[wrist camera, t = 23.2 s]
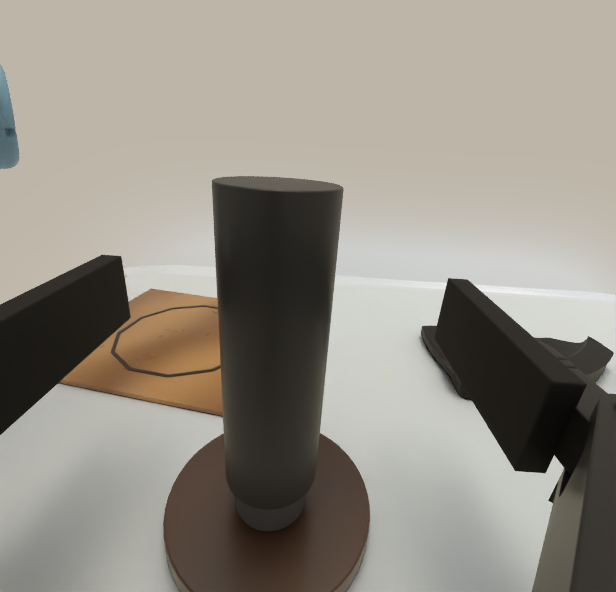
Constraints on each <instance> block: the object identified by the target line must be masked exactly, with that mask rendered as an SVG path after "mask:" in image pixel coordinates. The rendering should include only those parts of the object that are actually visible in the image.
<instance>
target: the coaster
mask: <svg viewBox="0 0 616 592" xmlns="http://www.w3.org/2000/svg"><path fill="white" fill-rule="evenodd" d="M369 522H370V507H369V500H368V494H367V491H366V488H365V484H364V482H363V479H362V477H361V475H360V473H359V471H358V469H357V468H356V466H355V464H354V463H353V461H352V460H351V459H350V457H349V456H348V455H347V454H346V453H345V452H344V451H343V450H342V449H341V448H340V447H339V446H338V445H337V444H336V443H334V442H333V441H332V440H330V439H329V438H327V437H326V436H324V435H322V434H319V444H318V455H317V465H316V474H315V479H314V482H313V484H312V486H311V488H310V489H309V491H308V492H307V493H306V500H305V505H304V508H303V510H302V512H301V514H300V515H299V517H298V518H297V519H296V520H295V521H294V522H293V523H292V524H290V525H289V526H287V527H285V528H283V529H280V530H277V531H260V530H257V529H254V528H252V527H250V526H249V525H247V524H246V523H245V522H244V521H243V520H242V519H241V517H240V516H239V514H238V512H237V510H236V506H235V495H234V494H233V493H232V492H231V490H230V488H229V486H228V484H227V480H226V467H225V446H224V434H222V435H221V436H219V437H217V438H215V439H214V440H212V441H211V442H209V443H208V444H207V445H205V446H204V447H203V448H202V449H200V450H199V451H198V452H197V453H196V454H195V455H194V456H193V457H192V458H191V459H190V460H189V461H188V463H187V464H186V465H185V467H184V468H183V469H182V471H181V472H180V474H179V475H178V477H177V479H176V481H175V483H174V484H173V487H172V489H171V492H170V494H169V497H168V500H167V504H166V508H165V514H164V523H163V525H164V541H165V548H166V553H167V559H168V565H169V568H170V571H171V574H172V577H173V580H174V582H175V584H176V586H177V588H178V589H179V591H180V592H346V590H347V589H348V588H349V586H350V584H351V583H352V581H353V579H354V578H355V576H356V574H357V572H358V569H359V567H360V564H361V562H362V559H363V555H364V551H365V547H366V542H367V537H368V531H369Z"/></svg>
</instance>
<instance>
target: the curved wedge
mask: <svg viewBox="0 0 616 592" xmlns="http://www.w3.org/2000/svg"><path fill="white" fill-rule="evenodd" d="M436 328H437V326H422V330H421V335H422V337H423V339H424V341H425V343H426V345H427V347H428V349H429V351H430V352H431V353H432V355H433V356H434V358H435V359H436V360H437V361H438V363H439V364H440V365H441V366H442V367H443V368H444V370H445V371H446V372H447V374H448V375H449V376H450V378H451V380H452V381H453V383H454V385H455V387H456V390H457V392H458V393H459V395H460V396H461V397H464V398H468V399H471V398H470V396H469V395H468V393H467V391H466V390H465V388H464V386H463V385H462V383H461V381H460V380H459V378H458V377H457V375H456V373H455V372H454V370H453V368H452V367H451V365H450V363H449V362H448V360H447V359H446V357H445V355H444V354H443V352H442V350H441V349H440V347H439V345H438V344H437V342H436V341H435V339H434V336H435V332H436ZM535 339H538V340H540V341H541V342H543V343H545V344H547V345H549V346H551V347H552V348H554V349H555V350H557V351H558V352H559V353H560V354H561V355H562V356H564V357H565V358H566V360H568V361H570V362H571V363H572V364H573V365H574V366H575V367H576V369H579V370H580V371H581V372H583V373H584V374H585V375H586V376H587V377H589V378H590V379H591V380H592V381H593V382H596V381H597V380H598V379H599V378H600V377H601V375H602V374H603V371H604V369H605V367H606V365H607V363H608V362H609V361H610V359H611V358H612V356H613V354H614V353H613V352H612V351H611V350H609V349H608V348H607V347H605V346H604V345H602V344H601V343H599V342H598V341H596V340H594V339H592V338H591V337H588V338H587V339H586V340H585V341H584V342H581V343H573V342H567V341H562V340H557V339H552V338H535Z"/></svg>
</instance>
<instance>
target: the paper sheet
mask: <svg viewBox="0 0 616 592" xmlns="http://www.w3.org/2000/svg"><path fill="white" fill-rule="evenodd" d="M129 309H130V315H131V318H130V319H129V320H128V321H127V322H126V323H124V324H123V325H122V326H121V327H120V328H119V329H118V330H117V331H115V332H114V333H113V334H112V335H111V336H110V337H109V338H108V339H107V340H105V341H104V342H103V343H102V344H101V345H100V346H99V347H98V348H97V349H95V350H94V351H93V352H92V353H91V354H90V355H89V356H88V357H87V358H85V359H84V360H83V361H82V362H81V363H80V364H79V365H78V366H77V367H75V368H74V369H73V370H72V371H71V372H70V373H69V374H68V375H66V376H65V377H64V378H63V379H62V380H61V381H60V382H59V383H63V384H68V385H73V386H78V387H82V388H87V389H92V390H97V391H102V392H107V393H112V394H117V395H122V396H127V397H132V398H137V399H141V400H146V401H151V402H156V403H161V404H166V405H171V406H176V407H181V408H186V409H191V410H196V411H200V412H205V413H210V414H215V415H220V416H223V404H222V383H221V362H220V341H219V320H218V299H217V298H212V297H205V296H198V295H191V294H184V293H177V292H170V291H163V290H156V289H150V290H148V291H147V292H145V293H143V294H141V295H140V296H138V297H136V298H134V299H133V300H131V301H129Z"/></svg>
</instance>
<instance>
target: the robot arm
mask: <svg viewBox="0 0 616 592" xmlns="http://www.w3.org/2000/svg"><path fill="white" fill-rule="evenodd" d="M18 161H19V149H18V141H17V135H16V131H15V122H14V115H13V110H12V104H11V99H10V94H9V89H8V84H7V80H6V76H5V72H4V71H3V68H2V67H1V65H0V169H6V168H12V167H14V166H15V165H16V164H17V163H18ZM130 318H131V315H130V309H129V302H128V296H127V290H126V284H125V277H124V271H123V265H122V259H121V256H109V255H101V256H99V257H97V258H95V259H93V260H91V261H89V262H87V263H85V264H83V265H80V266H78V267H76V268H74V269H72V270H70V271H68V272H66V273H64V274H62V275H60V276H58V277H56V278H54V279H52V280H50V281H48V282H46V283H44V284H42V285H40V286H37V287H35V288H34V289H31V290H29V291H27V292H25V293H23V294H21V295H19V296H17V297H15V298H13V299H11V300H9V301H7V302H5V303H3V304H1V305H0V435H1V434H2V433H3V432H4V431H5V430H6V429H7V428H9V427H10V426H11V425H12V424H13V423H14V422H15V421H16V420H17V419H19V418H20V417H21V416H22V415H23V414H24V413H25V412H26V411H27V410H29V409H30V408H31V407H32V406H33V405H34V404H35V403H36V402H38V401H39V400H40V399H41V398H42V397H43V396H44V395H45V394H46V393H48V392H49V391H50V390H51V389H52V388H53V387H54V386H55V385H56V384H58V383H59V382H60V381H61V380H62V379H63V378H64V377H65V376H66V375H68V374H69V373H70V372H71V371H72V370H73V369H74V368H75V367H77V366H78V365H79V364H80V363H81V362H82V361H83V360H84V359H85V358H87V357H88V356H89V355H90V354H91V353H92V352H93V351H94V350H95V349H97V348H98V347H99V346H100V345H101V344H102V343H103V342H104V341H105V340H107V339H108V338H109V337H110V336H111V335H112V334H113V333H114V332H115V331H117V330H118V329H119V328H120V327H121V326H122V325H123V324H124V323H126V322H127V321H128V320H129V319H130ZM434 339H435V341H436V342H437V344H438V345H439V347H440V349H441V350H442V352H443V354H444V355H445V357H446V359H447V360H448V362H449V363H450V365H451V367H452V368H453V370H454V372H455V373H456V375H457V377H458V378H459V380H460V381H461V383H462V385H463V386H464V388H465V390H466V391H467V393H468V395H469V396H470V398H471V399H472V401H473V403H474V404H475V406H476V408H477V409H478V411H479V412H480V414H481V416H482V417H483V419H484V421H485V422H486V424H487V426H488V427H489V429H490V430H491V432H492V434H493V435H494V437H495V439H496V440H497V442H498V444H499V445H500V447H501V448H502V450H503V452H504V453H505V455H506V457H507V458H508V460H509V461H510V463H511V465H512V466H513V468H514V470H515V471H523V472H538V473H546V471H547V469H548V467H549V464H550V462H551V460H552V458H553V456H554V455H555V456H556V458H557V459H558V460H559V461H560V463H561V464H562V465H563V467H564V470H563V472H562V474H561V476H560V478H559V480H558V482H557V484H556V486H555V488H554V490H553V492H552V494H551V496H550V498H549V500H548V501H550V502H552V503H553V506H552V511H551V515H550V519H549V523H548V527H547V531H546V535H545V540H544V544H543V548H542V552H541V556H540V560H539V564H538V569H537V573H536V577H535V581H534V585H533V589H532V592H616V394H607V393H606V392H605V391H604V390H603V389H602V388H600V387H599V386H598V385H597V384H596V383H594V382H593V381H592V380H591V379H590V378H589V377H587V376H586V375H585V374H584V373H583V372H581V371H580V370H579V369H576V367H575V366H574V365H573V364H572V363H571V362H570V361H568V360H566V358H565V357H564V356H562V355H561V354H560V353H559V352H558V351H557V350H555V349H554V348H552V347H551V346H549V345H547V344H545V343H543V342H541V341H540V340H538V339H535V338H534V337H532V336H531V335H530V334H529V333H528V332H527V331H526V330H524V329H523V328H522V327H521V326H520V325H519V324H518V323H516V322H515V321H514V320H513V319H512V318H511V317H510V316H508V315H507V314H506V313H505V312H504V311H503V310H502V309H500V308H499V307H498V306H497V305H496V304H495V303H494V302H492V301H491V300H490V299H489V298H488V297H487V296H486V295H484V294H483V293H482V292H481V291H480V290H479V289H478V288H476V287H475V286H474V285H473V284H472V283H471V282H470V281H468V280H464V279H451V278H449V279H448V282H447V286H446V290H445V294H444V298H443V303H442V307H441V311H440V315H439V319H438V324H437V328H436V332H435V336H434Z"/></svg>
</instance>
